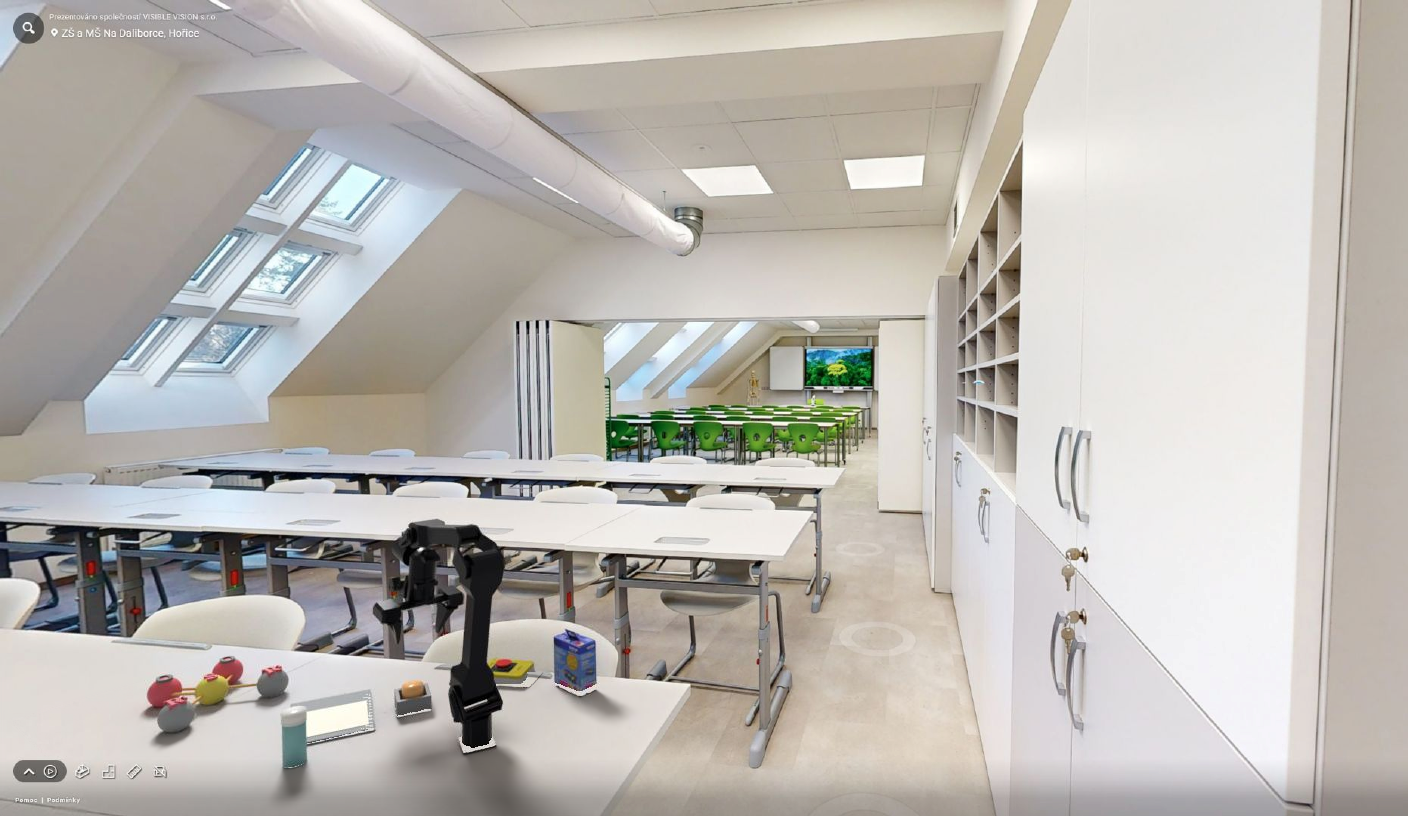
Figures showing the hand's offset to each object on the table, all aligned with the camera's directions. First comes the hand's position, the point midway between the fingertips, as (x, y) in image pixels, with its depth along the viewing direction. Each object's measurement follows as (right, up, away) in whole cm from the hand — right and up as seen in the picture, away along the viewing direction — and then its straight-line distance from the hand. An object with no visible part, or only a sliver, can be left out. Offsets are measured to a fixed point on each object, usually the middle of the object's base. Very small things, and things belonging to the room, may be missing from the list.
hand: (417, 637), depth 156 cm
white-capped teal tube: (-13, -15, -26) cm, 32 cm away
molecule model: (-46, -14, -2) cm, 48 cm away
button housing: (0, -14, -4) cm, 15 cm away
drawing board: (-15, -14, -9) cm, 23 cm away
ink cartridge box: (+35, -14, +7) cm, 38 cm away
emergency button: (+17, -15, +12) cm, 25 cm away
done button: (+1, -12, -4) cm, 13 cm away
